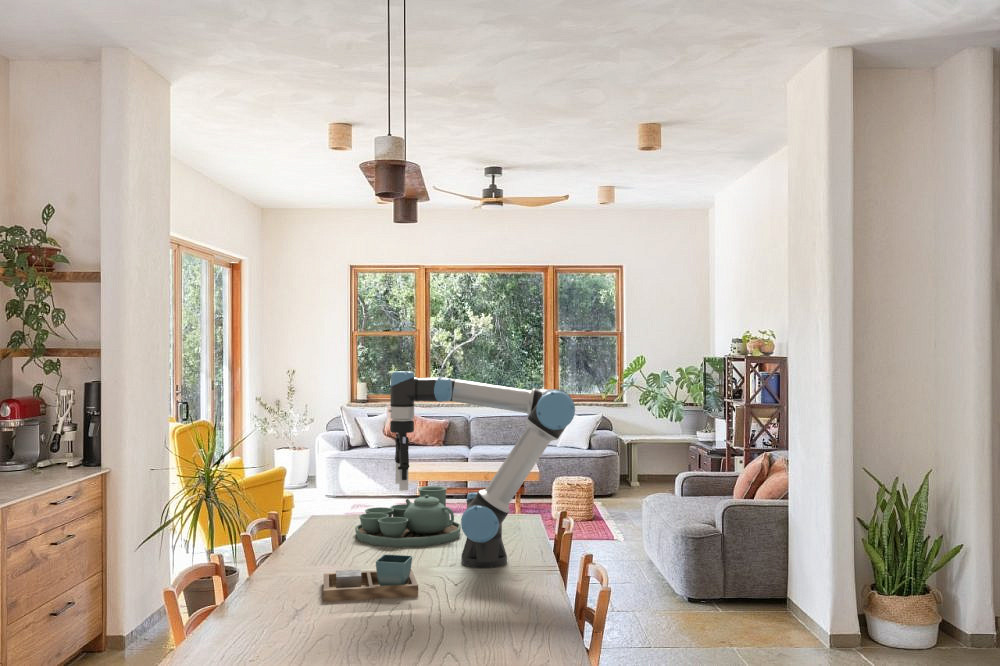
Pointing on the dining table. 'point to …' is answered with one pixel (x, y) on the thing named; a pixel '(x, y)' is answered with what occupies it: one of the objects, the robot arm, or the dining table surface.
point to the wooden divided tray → (368, 588)
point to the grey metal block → (348, 578)
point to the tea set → (410, 522)
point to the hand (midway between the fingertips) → (401, 486)
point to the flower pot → (393, 569)
